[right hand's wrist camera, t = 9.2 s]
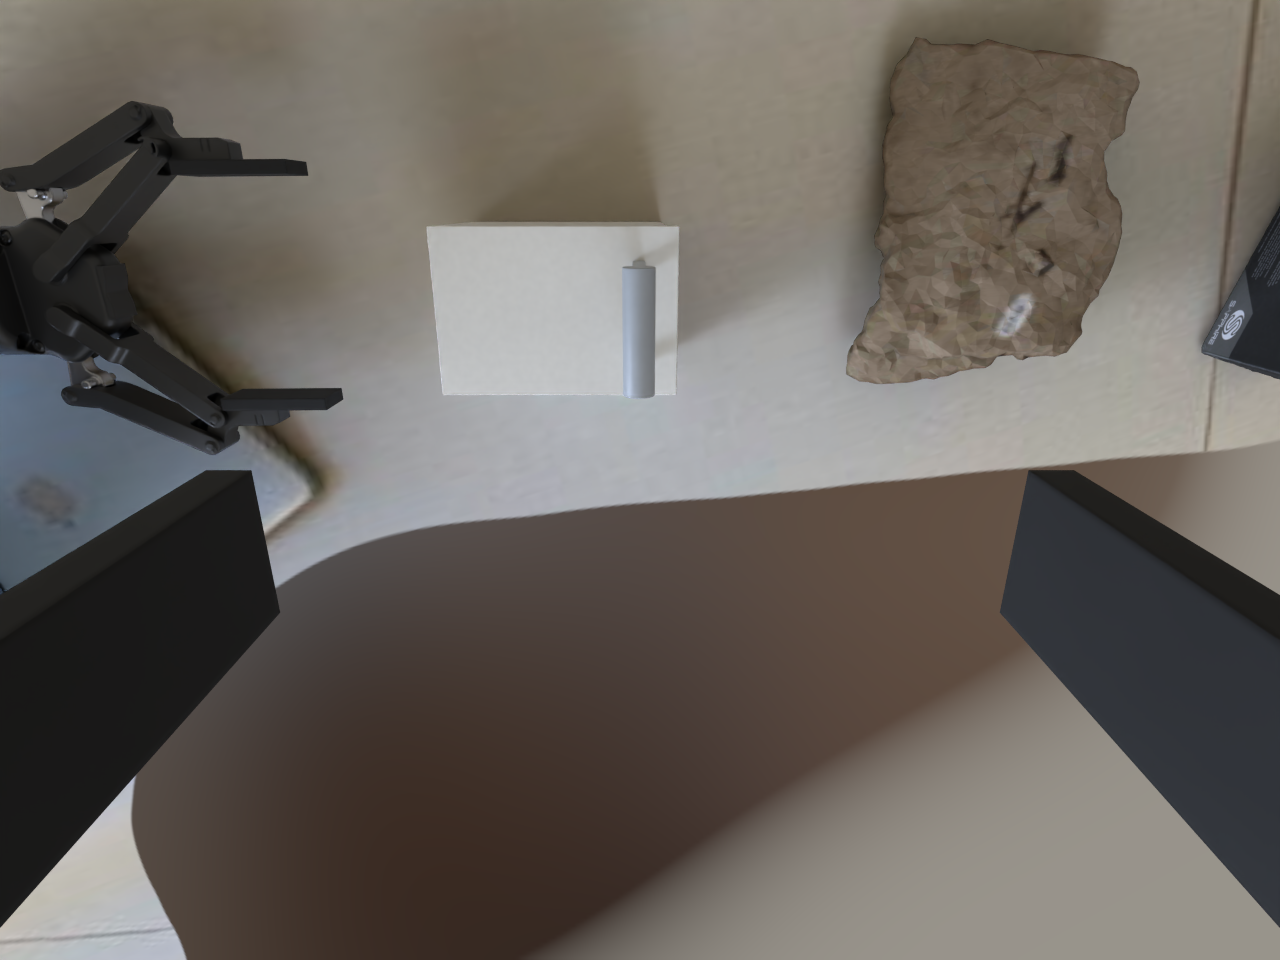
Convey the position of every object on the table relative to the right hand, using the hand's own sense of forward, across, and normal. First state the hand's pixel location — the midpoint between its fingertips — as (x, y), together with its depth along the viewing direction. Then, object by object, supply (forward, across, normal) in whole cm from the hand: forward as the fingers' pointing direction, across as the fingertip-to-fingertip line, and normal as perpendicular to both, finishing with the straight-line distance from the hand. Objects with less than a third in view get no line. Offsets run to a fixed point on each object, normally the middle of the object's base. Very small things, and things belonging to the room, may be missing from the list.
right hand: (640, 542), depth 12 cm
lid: (+30, +5, 0) cm, 30 cm away
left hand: (+34, +20, -1) cm, 39 cm away
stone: (+41, -22, -4) cm, 46 cm away
